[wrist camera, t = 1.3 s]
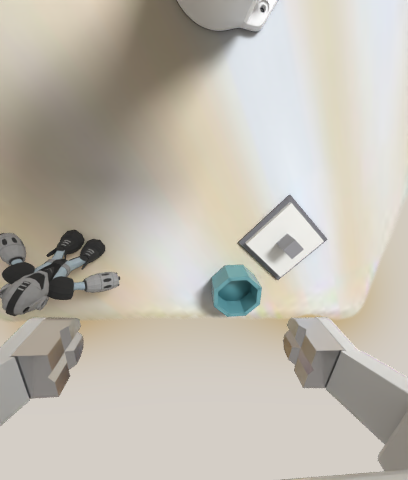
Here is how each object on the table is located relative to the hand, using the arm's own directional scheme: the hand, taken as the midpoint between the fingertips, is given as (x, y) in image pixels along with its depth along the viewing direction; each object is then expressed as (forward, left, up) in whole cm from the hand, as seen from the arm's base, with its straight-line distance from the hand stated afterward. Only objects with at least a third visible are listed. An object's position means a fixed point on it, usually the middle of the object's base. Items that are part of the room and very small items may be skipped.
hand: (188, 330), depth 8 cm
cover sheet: (-7, +22, -34) cm, 41 cm away
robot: (+22, -8, -34) cm, 42 cm away
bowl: (+8, +22, -34) cm, 41 cm away
